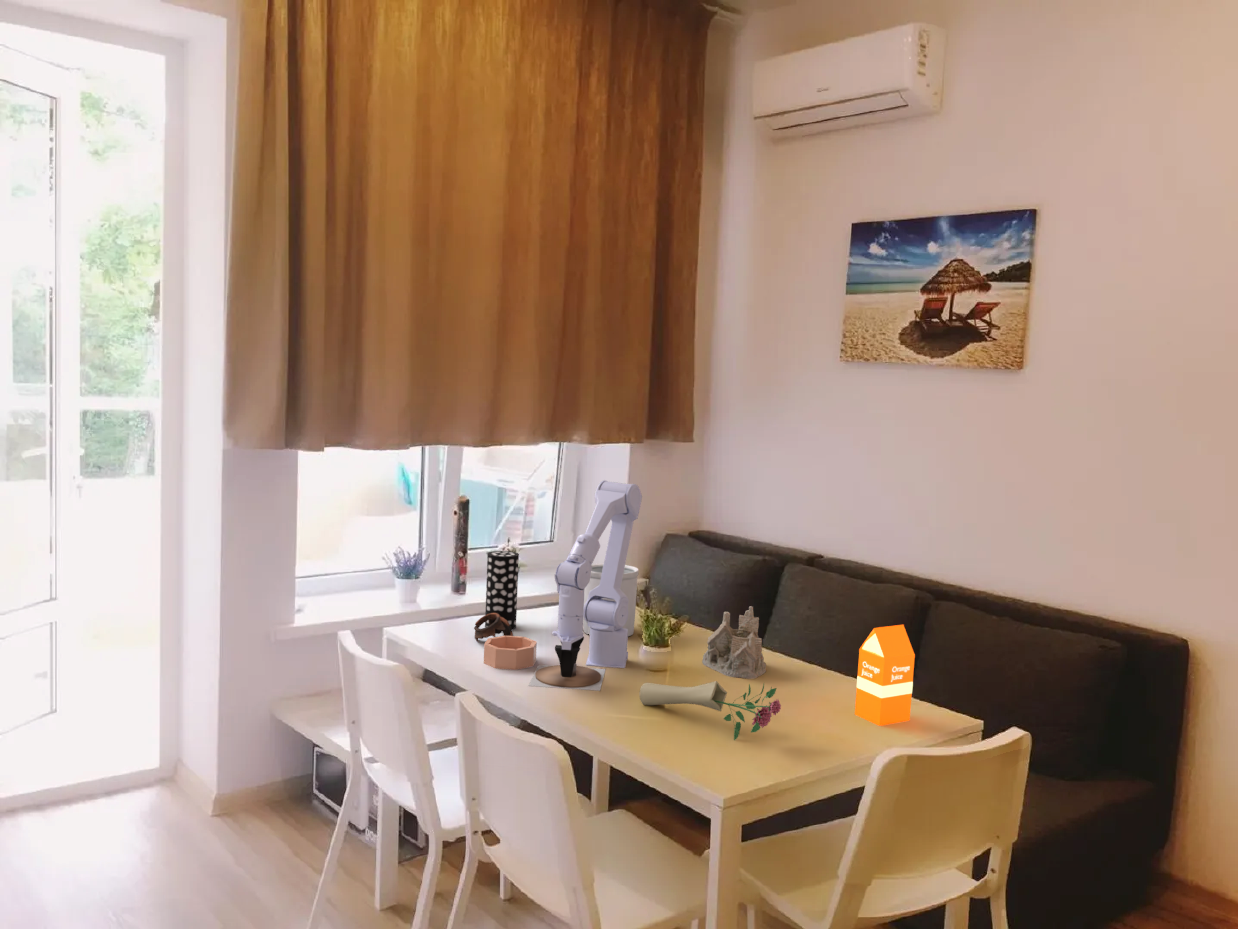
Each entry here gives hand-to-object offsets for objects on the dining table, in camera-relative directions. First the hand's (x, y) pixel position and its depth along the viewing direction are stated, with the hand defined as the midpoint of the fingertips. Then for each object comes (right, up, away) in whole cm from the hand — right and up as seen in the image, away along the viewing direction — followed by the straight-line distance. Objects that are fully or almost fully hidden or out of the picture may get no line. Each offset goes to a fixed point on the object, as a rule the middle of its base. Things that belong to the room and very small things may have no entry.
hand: (568, 672), depth 240 cm
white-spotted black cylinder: (-20, +4, +42) cm, 47 cm away
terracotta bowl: (-14, 0, +10) cm, 18 cm away
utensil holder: (+9, +2, +43) cm, 43 cm away
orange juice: (+68, -7, -16) cm, 70 cm away
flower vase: (+30, -6, -26) cm, 40 cm away
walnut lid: (0, -1, 0) cm, 1 cm away
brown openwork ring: (-20, +2, +29) cm, 36 cm away
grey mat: (0, -2, 0) cm, 2 cm away
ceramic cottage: (+39, -2, +16) cm, 42 cm away
